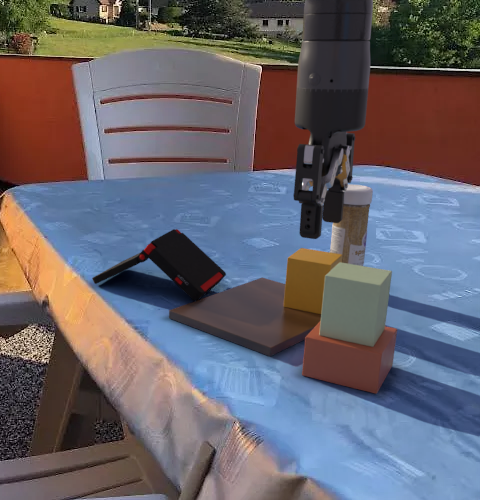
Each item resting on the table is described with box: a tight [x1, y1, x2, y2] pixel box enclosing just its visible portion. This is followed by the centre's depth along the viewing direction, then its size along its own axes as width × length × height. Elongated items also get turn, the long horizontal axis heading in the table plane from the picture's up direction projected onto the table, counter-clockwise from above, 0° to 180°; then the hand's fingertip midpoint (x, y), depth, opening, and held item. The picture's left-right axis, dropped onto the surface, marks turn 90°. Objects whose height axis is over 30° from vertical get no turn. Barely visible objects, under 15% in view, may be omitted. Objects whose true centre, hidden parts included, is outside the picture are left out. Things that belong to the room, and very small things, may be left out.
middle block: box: [319, 262, 393, 347], centre depth 67 cm, size 5×5×6 cm
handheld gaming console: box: [91, 228, 227, 301], centre depth 92 cm, size 9×12×10 cm
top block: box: [284, 247, 342, 314], centre depth 83 cm, size 5×5×6 cm
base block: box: [301, 321, 398, 395], centre depth 68 cm, size 7×7×4 cm
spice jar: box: [329, 183, 374, 266], centre depth 91 cm, size 5×5×13 cm
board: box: [168, 277, 321, 357], centre depth 82 cm, size 18×14×1 cm
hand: (321, 229), depth 81 cm, fingers open, 8 cm apart
